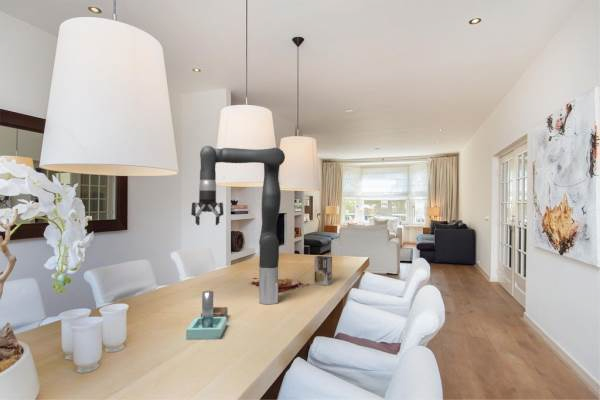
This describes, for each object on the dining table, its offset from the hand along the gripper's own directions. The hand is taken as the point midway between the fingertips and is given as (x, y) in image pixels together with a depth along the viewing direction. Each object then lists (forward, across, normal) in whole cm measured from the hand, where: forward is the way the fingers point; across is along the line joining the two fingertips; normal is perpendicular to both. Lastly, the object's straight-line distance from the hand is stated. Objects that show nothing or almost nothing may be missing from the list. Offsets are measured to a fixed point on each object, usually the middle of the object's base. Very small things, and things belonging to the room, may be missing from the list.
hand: (207, 224), depth 157 cm
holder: (+38, -7, +17) cm, 42 cm away
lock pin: (+37, -7, +30) cm, 48 cm away
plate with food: (+39, -33, -43) cm, 67 cm away
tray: (+38, -7, +30) cm, 49 cm away
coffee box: (+38, -59, -44) cm, 83 cm away
